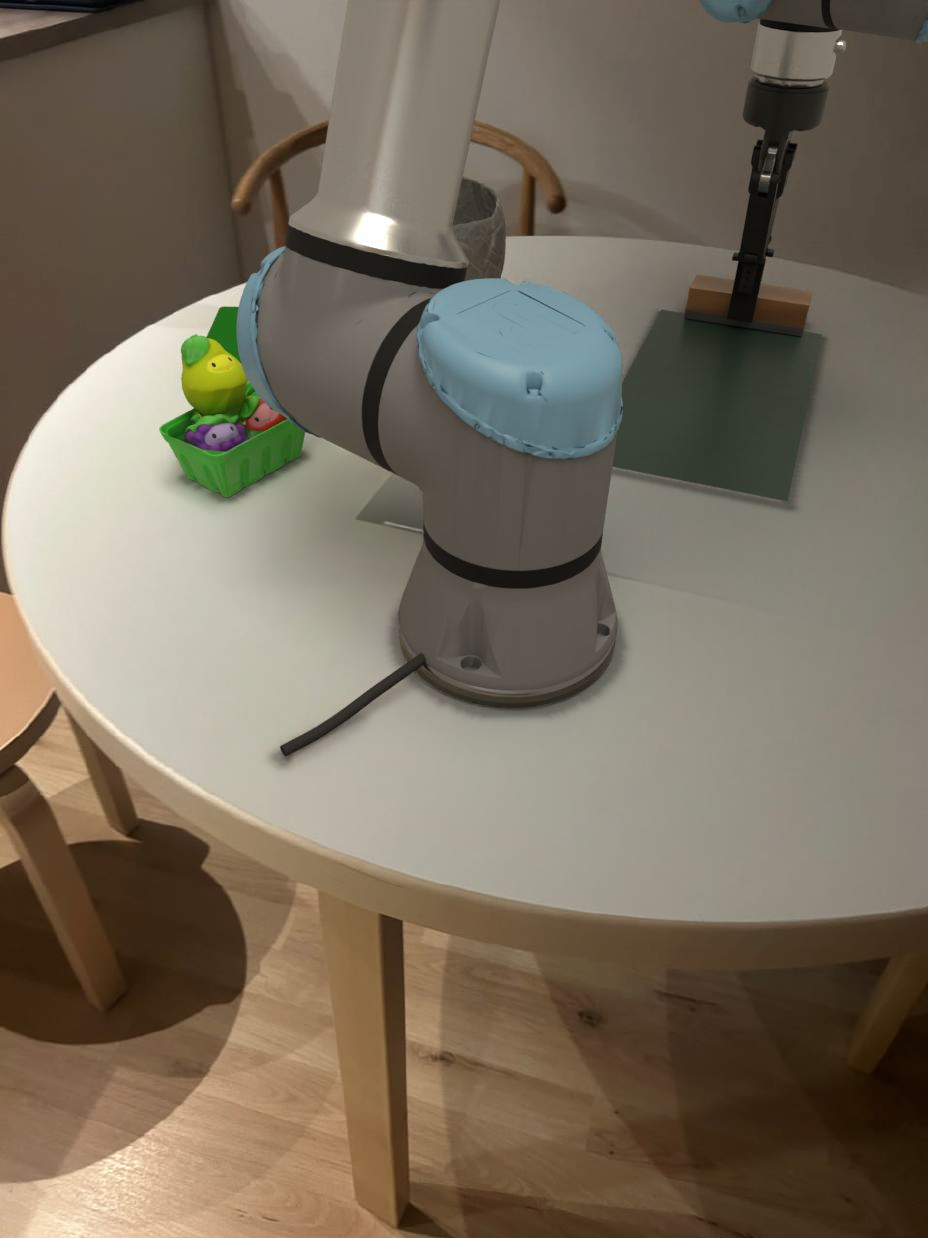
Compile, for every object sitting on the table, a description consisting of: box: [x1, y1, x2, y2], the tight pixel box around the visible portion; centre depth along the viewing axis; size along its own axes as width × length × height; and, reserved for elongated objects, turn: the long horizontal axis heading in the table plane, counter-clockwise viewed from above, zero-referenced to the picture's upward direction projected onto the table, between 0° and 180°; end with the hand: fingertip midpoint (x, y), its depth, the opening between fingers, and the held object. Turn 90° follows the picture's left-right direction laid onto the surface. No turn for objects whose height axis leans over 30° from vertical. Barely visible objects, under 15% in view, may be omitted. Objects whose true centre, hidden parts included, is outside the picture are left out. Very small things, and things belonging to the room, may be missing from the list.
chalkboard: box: [612, 309, 823, 502], centre depth 96 cm, size 36×18×1 cm, turn 160°
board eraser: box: [684, 274, 814, 336], centre depth 108 cm, size 5×13×4 cm, turn 69°
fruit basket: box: [158, 333, 306, 498], centre depth 81 cm, size 11×9×11 cm
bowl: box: [452, 175, 507, 281], centre depth 101 cm, size 20×20×15 cm
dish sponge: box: [205, 306, 249, 383], centre depth 101 cm, size 7×14×2 cm, turn 1°
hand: (740, 318), depth 106 cm, fingers closed
